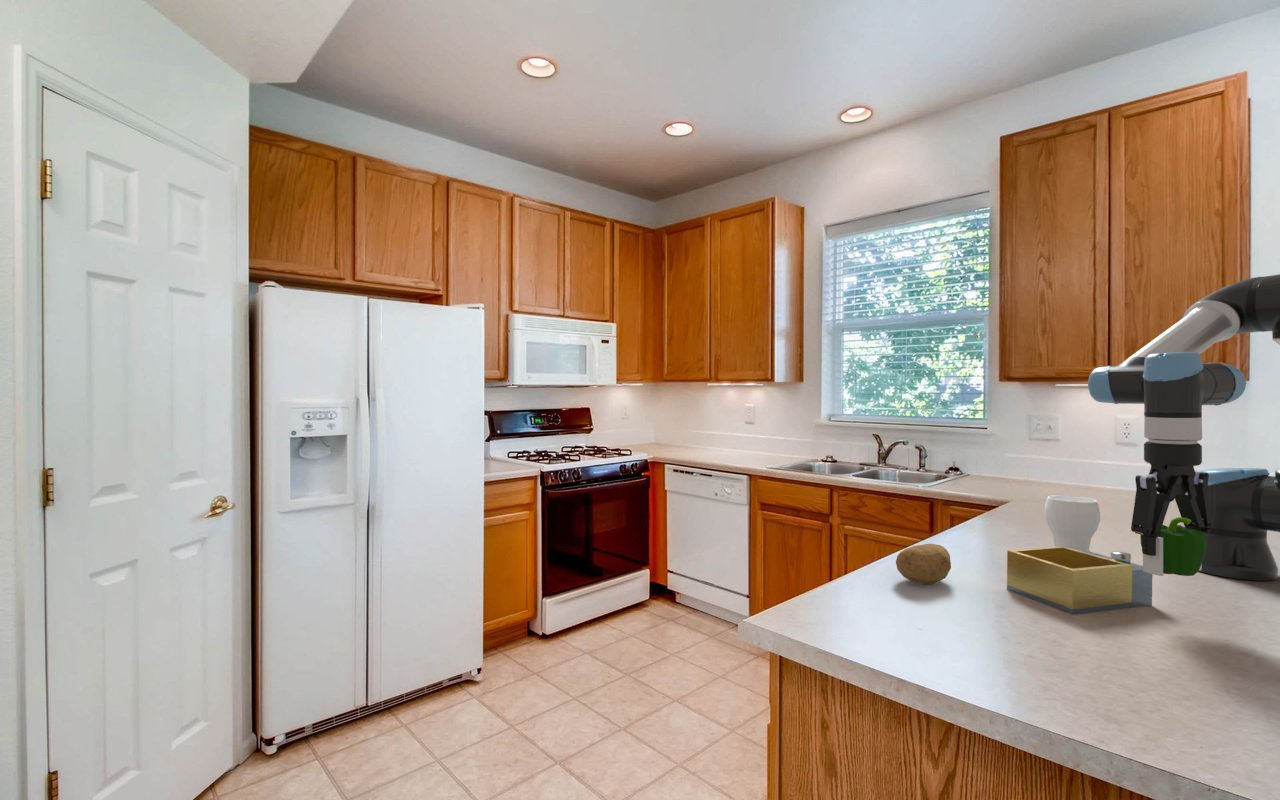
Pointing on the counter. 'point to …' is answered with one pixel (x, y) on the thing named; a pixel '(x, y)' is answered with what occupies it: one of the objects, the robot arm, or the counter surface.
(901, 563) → the potato
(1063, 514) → the cup
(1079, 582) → the gold open box
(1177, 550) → the bell pepper
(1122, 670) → the counter surface
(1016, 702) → the counter surface
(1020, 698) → the counter surface
